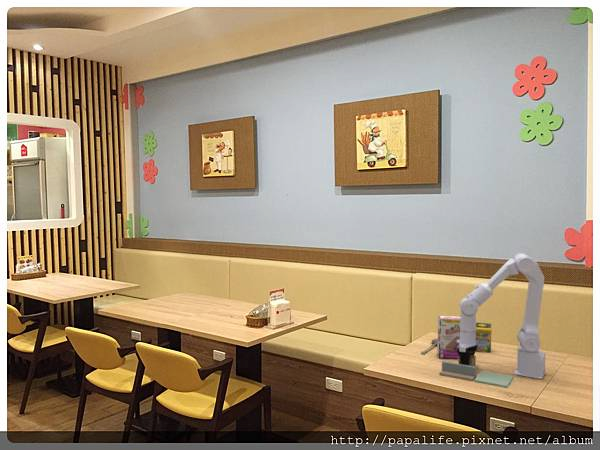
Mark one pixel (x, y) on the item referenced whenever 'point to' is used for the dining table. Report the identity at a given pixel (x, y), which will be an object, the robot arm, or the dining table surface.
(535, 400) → the dining table surface
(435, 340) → the soupspoon
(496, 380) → the mat
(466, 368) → the grey long block
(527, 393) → the dining table surface
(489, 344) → the crayon box
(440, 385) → the dining table surface
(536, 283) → the robot arm
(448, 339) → the candy bar box
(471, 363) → the lettered cube
